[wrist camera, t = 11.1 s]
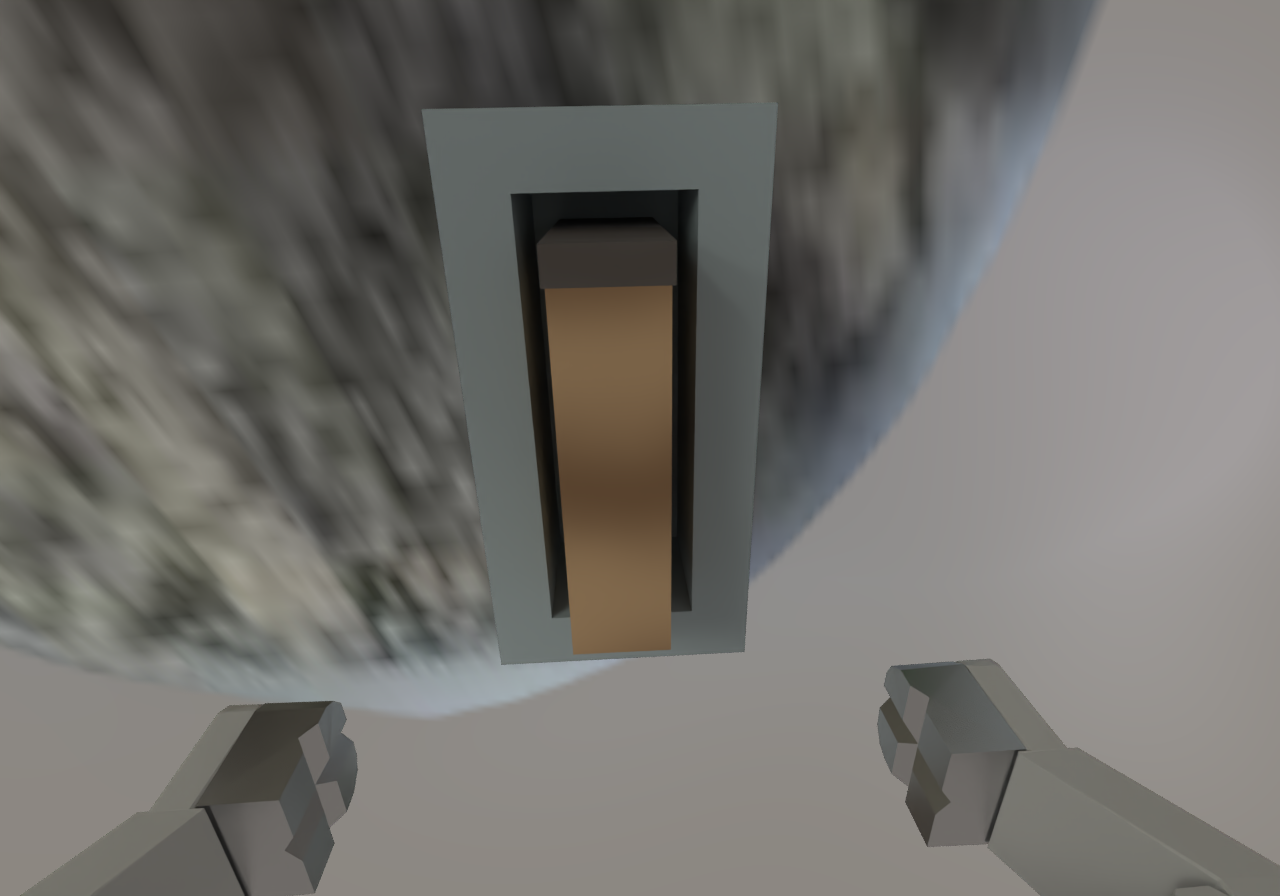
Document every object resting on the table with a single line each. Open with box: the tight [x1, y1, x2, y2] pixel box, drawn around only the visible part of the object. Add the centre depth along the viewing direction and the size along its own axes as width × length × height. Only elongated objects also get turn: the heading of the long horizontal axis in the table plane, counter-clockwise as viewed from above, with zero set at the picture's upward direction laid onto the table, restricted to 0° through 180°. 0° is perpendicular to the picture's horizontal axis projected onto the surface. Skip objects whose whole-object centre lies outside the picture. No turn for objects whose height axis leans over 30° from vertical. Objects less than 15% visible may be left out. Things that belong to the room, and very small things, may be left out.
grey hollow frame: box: [421, 103, 778, 665], centre depth 25 cm, size 9×18×12 cm, turn 1°
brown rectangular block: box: [537, 217, 677, 655], centre depth 20 cm, size 12×3×8 cm, turn 1°
